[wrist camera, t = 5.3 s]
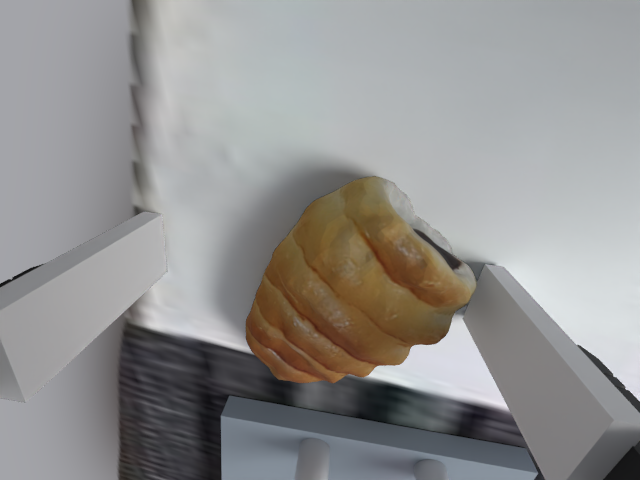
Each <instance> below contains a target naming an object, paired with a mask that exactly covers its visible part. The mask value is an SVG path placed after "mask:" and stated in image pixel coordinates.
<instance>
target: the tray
mask: <svg viewBox="0 0 640 480" xmlns="http://www.w3.org/2000/svg"><path fill="white" fill-rule="evenodd" d="M221 466H222V480H534V478H535V477H536V476H537V474H538V472H537V470H536V468H535V466H534V464H533V462H532V460H531V458H530V456H529V454H528V452H527V450H526V448H521V447H515V446H510V445H504V444H498V443H493V442H487V441H482V440H476V439H470V438H465V437H459V436H454V435H448V434H442V433H437V432H431V431H426V430H420V429H414V428H409V427H403V426H398V425H392V424H386V423H381V422H375V421H370V420H364V419H358V418H353V417H347V416H342V415H336V414H330V413H325V412H319V411H314V410H308V409H302V408H297V407H291V406H286V405H280V404H274V403H269V402H263V401H258V400H252V399H246V398H241V397H235V396H230V395H229V398H228V400H227V403H226V405H225V407H224V410H223V412H222V414H221Z"/></svg>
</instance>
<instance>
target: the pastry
mask: <svg viewBox="0 0 640 480" xmlns="http://www.w3.org/2000/svg"><path fill="white" fill-rule="evenodd" d="M451 252H452V248H451V246H450V245H449V243H448V242H447V240H446V239H445V238H444V237H443V236H442V235H441V234H440V233H439V232H438V231H436V230H435V229H433V228H432V227H431V226H430V225H429V224H428V223H426V222H425V221H424V220H422V219H421V218H419V217H417V216H416V215H415V214H414V211H413V206H412V204H411V202H410V199H409V198H408V196H407V195H406V194H405V193H404V192H402V191H401V190H400V189H399V188H398V187H397V186H396V185H395V183H393V182H391V181H389V180H386V179H383V178H380V177H376V176H372V177H365V178H361V179H358V180H355V181H352V182H350V183H348V184H346V185H344V186H342V187H341V188H339V189H337V190H336V191H334V192H332V193H329V194H327V195H325V196H323V197H321V198H319V199H316V200H315V201H313V202H312V203H311V204H310V205H309V206H308V207H307V208H306V209H305V211H304V213H303V214H302V216H301V218H300V219H299V221H298V223H297V224H296V225H295V226H294V227H293V228H292V230H291V231H290V232H289V234H288V235H287V237H286V238H285V239H284V240H283V241H282V242H281V243H280V244H279V245H278V247H277V248H276V249H275V251H274V252H273V254H272V259H271V261H270V263H269V265H268V266H267V268H266V270H265V272H264V275H263V278H262V281H261V284H260V286H259V288H258V290H257V293H256V297H255V300H254V302H253V305H252V308H251V311H250V313H249V315H248V317H247V319H246V340H247V343H248V345H249V347H250V349H251V351H252V352H253V353H254V354H255V355H256V356H257V357H258V358H259V359H260V360H261V361H262V362H263V363H264V364H266V365H267V366H268V367H269V368H270V370H271V372H272V373H273V375H274V376H275V377H276V378H277V379H279V380H289V381H293V382H297V383H309V382H316V381H321V380H325V381H328V382H331V383H335V382H337V381H338V380H340V379H342V378H343V377H344V376H345V375H347V374H352V375H355V376H358V377H365V376H367V375H369V374H370V373H371V372H372V370H373V369H374V368H375V367H376V366H379V365H394V366H395V365H400V364H401V363H403V362H404V360H405V359H406V358H407V356H408V354H409V351H410V348H411V347H412V346H413V345H419V344H423V345H431V344H436V343H438V342H439V341H440V340H441V339H443V338H444V337H445V336H446V334H447V333H448V331H449V328H450V325H451V321H452V317H453V315H454V313H455V312H456V311H457V310H458V309H460V308H462V307H463V306H465V305H466V304H467V303H468V302H469V300H470V298H471V296H472V295H473V294H474V292H475V290H476V286H477V281H476V278H475V276H474V273H473V271H472V270H471V268H470V267H469V266H468V265H467V264H466V263H464V262H463V261H461V260H460V259H459V258H457V257H456V256H454V255H453V254H451Z"/></svg>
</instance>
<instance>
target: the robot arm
mask: <svg viewBox="0 0 640 480" xmlns="http://www.w3.org/2000/svg"><path fill="white" fill-rule="evenodd" d="M166 272H167V261H166V250H165V239H164V228H163V218H162V214H158V213H152V212H145V211H144V212H142V213H140V214H138V215H136V216H134V217H132V218H131V219H129V220H127V221H125V222H123V223H121V224H119V225H117V226H115V227H114V228H112V229H110V230H108V231H106V232H104V233H102V234H101V235H99V236H97V237H95V238H93V239H91V240H89V241H87V242H85V243H83V244H82V245H80V246H78V247H76V248H74V249H72V250H70V251H68V252H67V253H65V254H63V255H61V256H59V257H57V258H55V259H53V260H51V261H49V262H48V263H45V264H42V265H39V266H36V267H33V268H30V269H28V270H26V271H24V272H22V273H20V274H18V275H17V276H14V277H13V279H12V280H10V279H9V280H7V281H5V282H3V283H1V284H0V398H1V399H8V400H13V401H18V402H24V403H26V402H27V401H28V400H29V399H30V398H31V397H33V396H34V395H35V394H36V393H37V392H38V391H39V390H40V389H41V388H42V387H43V386H45V384H47V382H49V381H50V380H51V379H52V378H53V377H54V376H55V375H56V374H57V373H58V372H60V371H61V370H62V369H63V368H64V367H65V366H66V365H67V364H68V363H69V362H70V361H71V360H73V359H74V358H75V357H76V356H77V355H78V354H79V353H80V352H81V351H82V350H83V349H84V348H86V347H87V346H88V345H89V344H90V343H91V342H92V341H93V340H94V339H95V338H96V337H97V336H98V335H100V334H101V333H102V332H103V331H104V330H105V329H106V328H107V327H108V326H109V325H110V324H111V323H113V322H114V321H115V320H116V319H117V318H118V317H119V316H120V315H121V314H122V313H123V312H124V311H125V310H127V309H128V308H129V307H130V306H131V305H132V304H133V303H134V302H135V301H136V300H137V299H138V298H139V297H141V296H142V295H143V294H144V293H145V292H146V291H147V290H148V289H149V288H150V287H151V286H152V285H154V284H155V283H156V282H157V281H158V280H159V279H160V278H161V277H162V276H163V275H164V274H165V273H166ZM463 321H464V323H465V324H466V326H467V328H468V330H469V332H470V334H471V336H472V338H473V340H474V342H475V344H476V346H477V348H478V350H479V352H480V354H481V355H482V357H483V359H484V361H485V363H486V365H487V367H488V369H489V371H490V373H491V375H492V377H493V379H494V381H495V383H496V385H497V387H498V388H499V390H500V392H501V394H502V396H503V398H504V400H505V402H506V404H507V406H508V408H509V410H510V412H511V414H512V416H513V418H514V419H515V421H516V423H517V425H518V427H519V429H520V431H521V433H522V435H523V437H524V439H525V441H526V443H527V445H528V447H529V449H530V451H531V452H532V454H533V456H534V458H535V460H536V462H537V464H538V466H539V468H540V470H541V472H542V474H543V476H544V478H545V480H640V402H639V401H638V400H637V398H636V397H635V396H634V395H633V394H632V393H631V392H630V391H629V390H626V389H625V386H624V385H623V384H622V383H621V382H620V381H619V380H618V379H617V378H616V377H613V374H612V373H611V372H610V370H609V369H608V368H607V367H606V366H605V365H604V364H603V363H602V362H601V361H600V360H599V359H598V358H596V357H595V356H594V355H592V354H591V353H589V352H588V351H587V350H585V349H584V348H582V347H581V346H580V345H576V344H575V343H574V342H573V341H572V340H571V339H570V337H569V336H568V335H567V334H566V333H565V332H564V331H563V330H562V329H561V328H560V327H559V326H558V325H557V324H556V322H555V321H554V320H553V319H552V318H551V317H550V316H549V315H548V314H547V313H546V312H545V311H544V310H543V308H542V307H541V306H540V305H539V304H538V303H537V302H536V301H535V300H534V299H533V298H532V297H531V296H530V294H529V293H528V292H527V291H526V290H525V289H524V288H523V287H522V286H521V285H520V284H519V283H518V282H517V280H516V279H515V278H514V277H513V276H512V275H511V274H510V273H509V272H508V271H507V270H506V269H505V268H504V267H501V266H494V265H488V264H484V267H483V269H482V272H481V274H480V277H479V279H478V282H477V286H476V290H475V292H474V294H473V295H472V297H471V299H470V302H469V304H468V307H467V309H466V312H465V314H464V317H463Z"/></svg>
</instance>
